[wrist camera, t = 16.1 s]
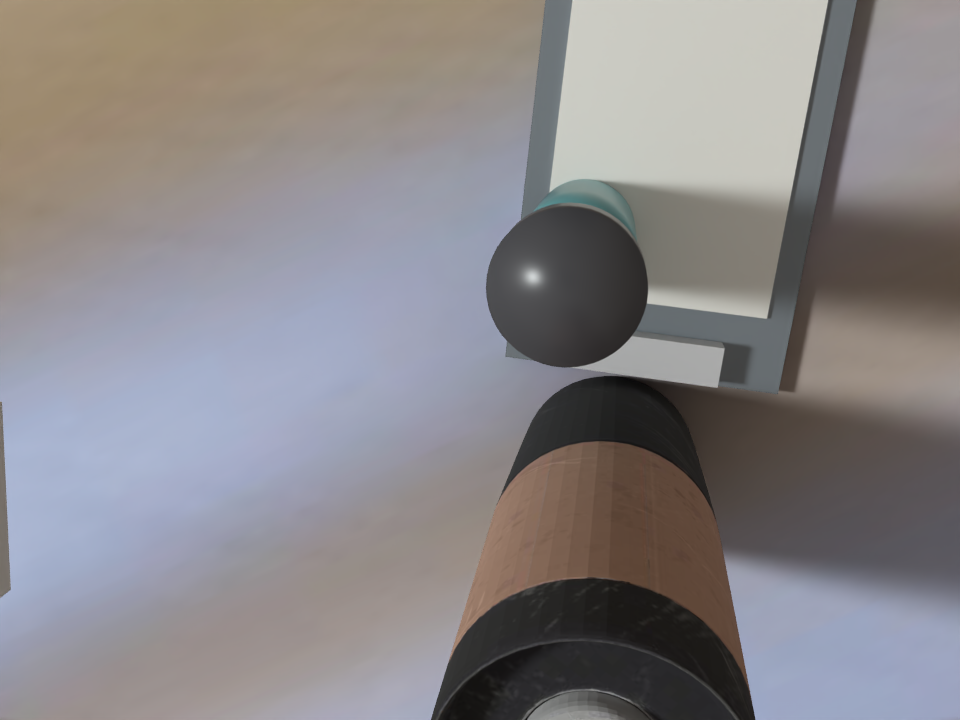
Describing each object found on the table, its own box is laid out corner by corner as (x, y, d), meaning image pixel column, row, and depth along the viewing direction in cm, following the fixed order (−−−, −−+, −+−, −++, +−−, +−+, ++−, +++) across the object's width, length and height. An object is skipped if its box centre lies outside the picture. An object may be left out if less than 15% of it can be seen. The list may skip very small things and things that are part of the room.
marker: (546, 161, 35) (510, 188, 24) (653, 192, 35) (670, 234, 24) (516, 267, 37) (468, 341, 25) (620, 298, 36) (619, 386, 25)
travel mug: (699, 365, 37) (775, 634, 18) (701, 538, 39) (771, 943, 20) (513, 370, 39) (401, 626, 20) (523, 537, 41) (431, 918, 21)
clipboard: (560, -121, 33) (557, -132, 32) (872, -97, 32) (885, -107, 31) (507, 352, 38) (502, 362, 37) (775, 389, 37) (781, 401, 36)
